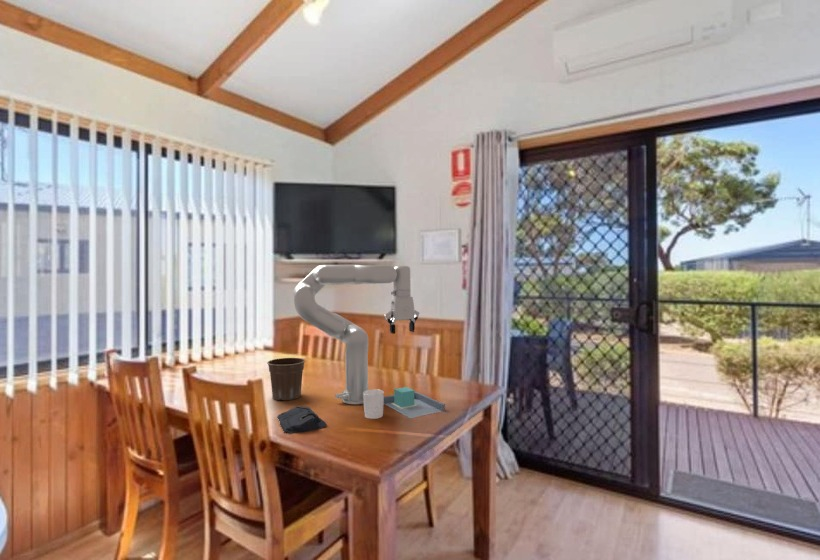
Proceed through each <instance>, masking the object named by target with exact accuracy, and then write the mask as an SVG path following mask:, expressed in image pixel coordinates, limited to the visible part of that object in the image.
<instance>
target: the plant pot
mask: <svg viewBox="0 0 820 560" xmlns="http://www.w3.org/2000/svg"><path fill="white" fill-rule="evenodd" d="M266 363H267V365H268V372H269V374H270V375H269V376H270V384H271V394H272V398H273V400H276V401H281V400H282V401H292V400H295V399H299V398H300V397H301V395H302V383H303V370H304V368H305V363H306V358H305V359H304V358H300V357H281V358H274V359H270V360H268V361H267V362H266Z"/></svg>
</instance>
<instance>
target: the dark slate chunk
mask: <svg viewBox="0 0 820 560" xmlns="http://www.w3.org/2000/svg"><path fill="white" fill-rule="evenodd" d="M276 417H277V418H278V419H279V421H280V424H279V425H281V426H280V428H281V427H282V428H281V429H283V430H282V432H283V431H284V432H283V434H285V433H286V434H289V435H293V434H297V433H298V434H299V433H307V432H313V431H317V430H320V429H321V430H322V428H326V427H327V426H328V424H327V423H326V421H325V420H323V419H322V418H321V417H319V415H318V414H317V413H316V412H315V411H314V410H312V408H310V407H309V406H295V407H292V408H290V409H289V410H287V411H283V412H282V413H280V414H278V415H277V416H276ZM278 419H277V420H278ZM279 421H278V422H279Z"/></svg>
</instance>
